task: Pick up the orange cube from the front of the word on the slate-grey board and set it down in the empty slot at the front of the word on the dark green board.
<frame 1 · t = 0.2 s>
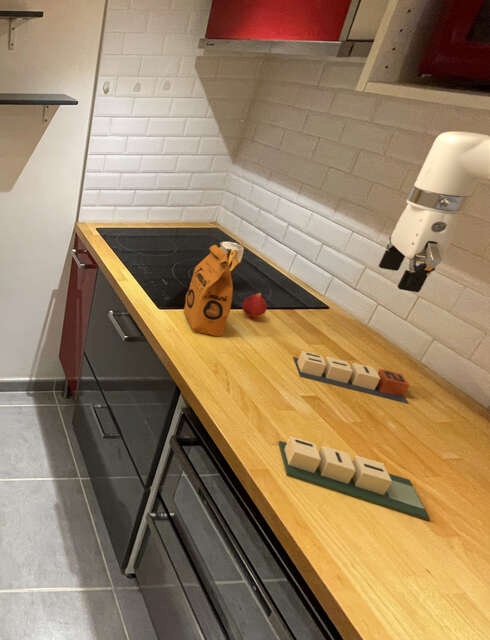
hand: (397, 279, 91), 29 cm above the worktop, tool pointing down, fingers open, 9 cm apart
coffee package: (201, 324, 125), on the worktop
word board a: (346, 380, 104), on the worktop
word board b: (347, 478, 81), on the worktop
onion: (250, 317, 128), on the worktop
beer glass: (219, 288, 143), on the worktop
orange cube: (387, 388, 101), point 1 cm above the worktop, touching word board a
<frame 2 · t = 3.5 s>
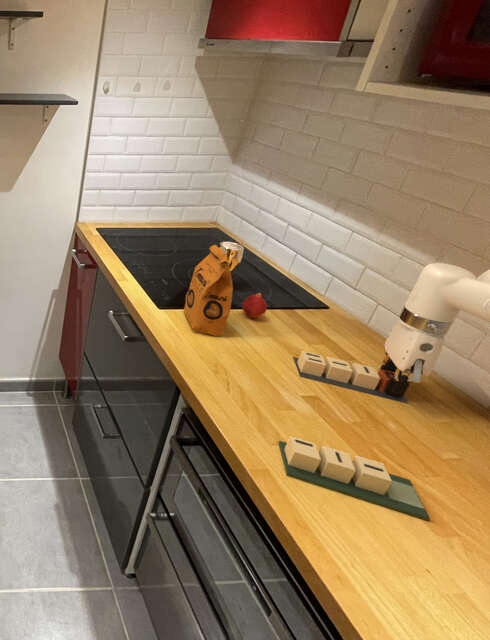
hand: (388, 386, 101), 1 cm above the worktop, tool pointing down, fingers closed on orange cube, 4 cm apart
orange cube: (387, 388, 101), point 1 cm above the worktop, touching gripper, word board a
everything else where it was.
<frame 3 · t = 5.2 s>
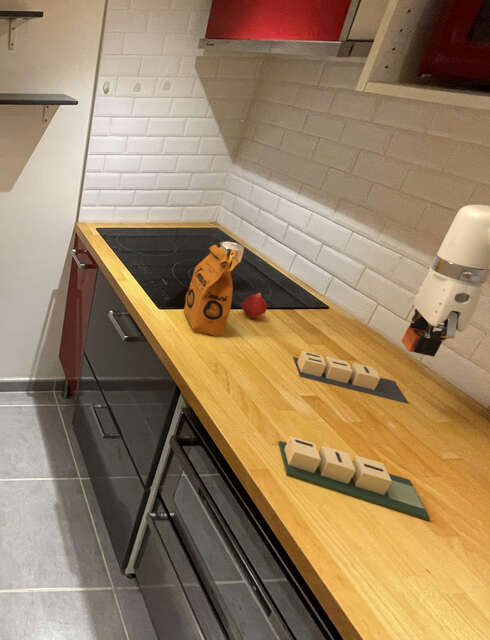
hand: (418, 346, 93), 15 cm above the worktop, tool pointing down, fingers closed on orange cube, 4 cm apart
orange cube: (417, 348, 93), point 14 cm above the worktop, touching gripper
everything else where it was.
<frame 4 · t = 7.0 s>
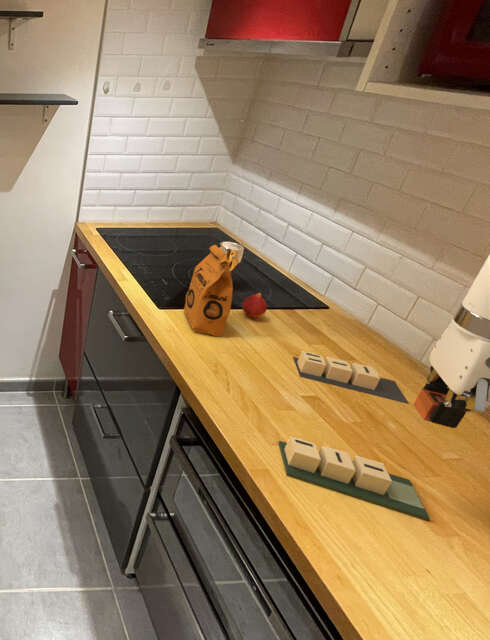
hand: (435, 413, 75), 15 cm above the worktop, tool pointing down, fingers closed on orange cube, 4 cm apart
orange cube: (433, 415, 75), point 15 cm above the worktop, touching gripper
everything else where it was.
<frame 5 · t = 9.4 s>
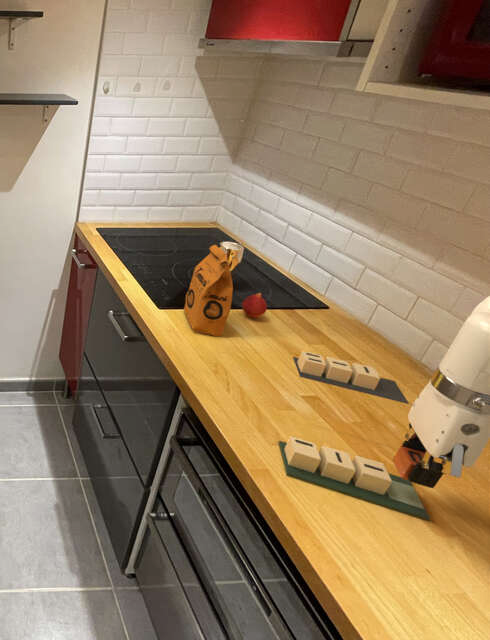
hand: (413, 471, 76), 6 cm above the worktop, tool pointing down, fingers closed on orange cube, 4 cm apart
orange cube: (411, 473, 76), point 5 cm above the worktop, touching gripper
everything else where it was.
when the fingers open (1 cm above the worktop, at t = 10.9 s): orange cube stays where it is, resting on word board b.
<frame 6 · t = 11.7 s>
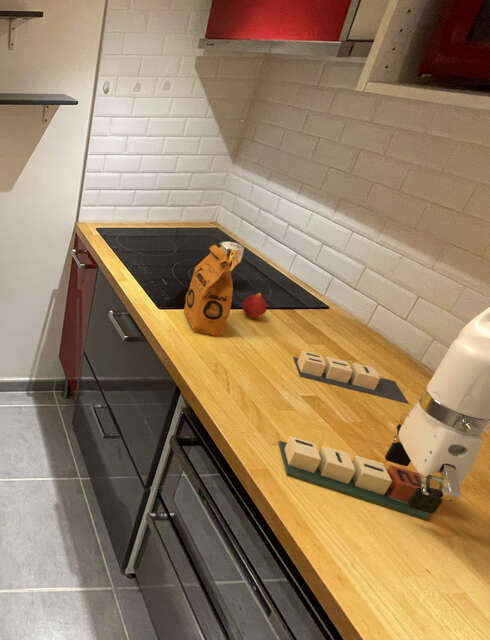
hand: (407, 484, 77), 3 cm above the worktop, tool pointing down, fingers open, 9 cm apart
orange cube: (400, 492, 78), point 1 cm above the worktop, touching word board b
everything else where it was.
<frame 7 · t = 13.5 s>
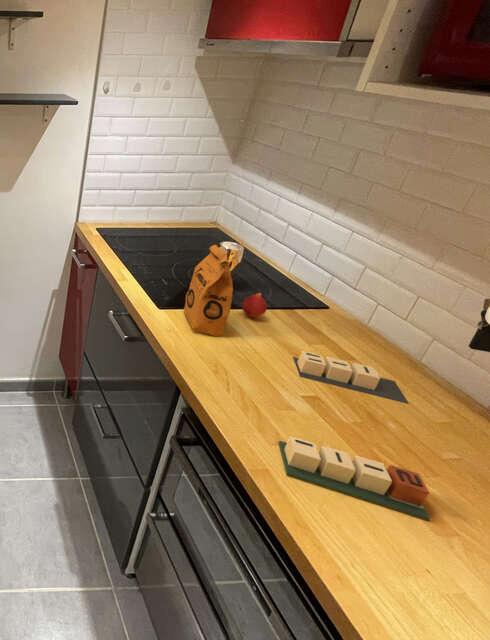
nothing on the worktop moved.
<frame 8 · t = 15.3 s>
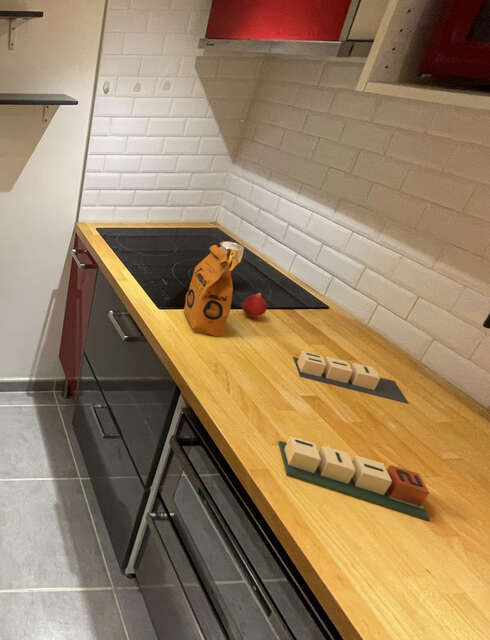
nothing on the worktop moved.
at the end: orange cube 0.2 cm from the target spot on the word board b, point 0.7 cm above the word board b's base; orange cube tilted 0°; the gripper is holding nothing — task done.
